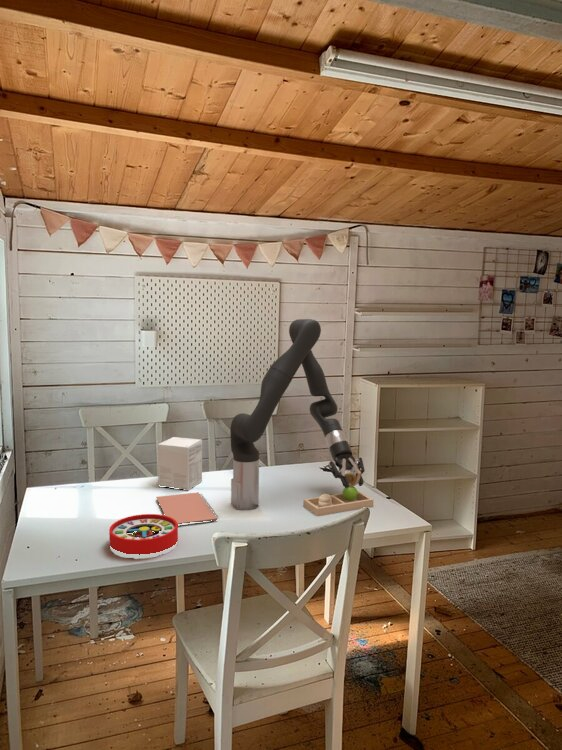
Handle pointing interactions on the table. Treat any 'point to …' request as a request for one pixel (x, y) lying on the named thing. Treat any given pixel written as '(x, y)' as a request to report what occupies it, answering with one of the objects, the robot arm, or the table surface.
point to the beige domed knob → (325, 500)
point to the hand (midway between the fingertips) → (354, 485)
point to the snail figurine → (351, 486)
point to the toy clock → (143, 534)
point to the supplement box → (180, 463)
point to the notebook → (187, 508)
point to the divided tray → (337, 504)
